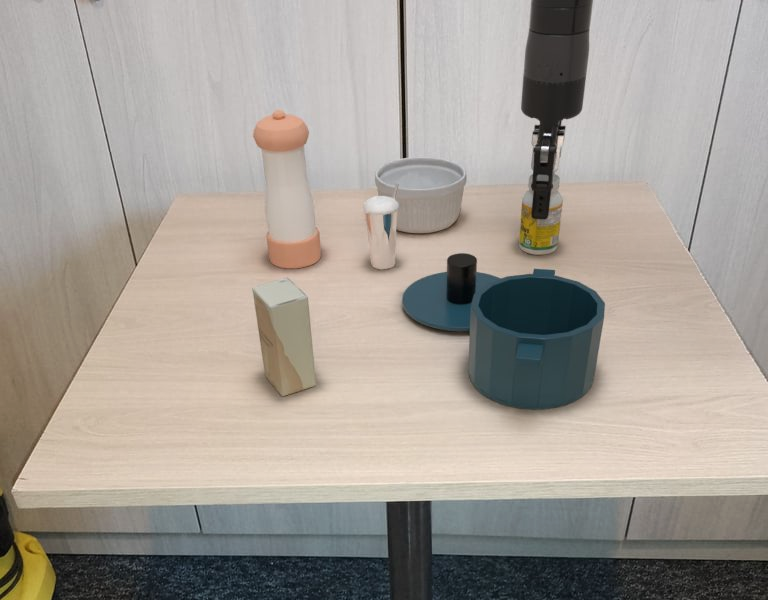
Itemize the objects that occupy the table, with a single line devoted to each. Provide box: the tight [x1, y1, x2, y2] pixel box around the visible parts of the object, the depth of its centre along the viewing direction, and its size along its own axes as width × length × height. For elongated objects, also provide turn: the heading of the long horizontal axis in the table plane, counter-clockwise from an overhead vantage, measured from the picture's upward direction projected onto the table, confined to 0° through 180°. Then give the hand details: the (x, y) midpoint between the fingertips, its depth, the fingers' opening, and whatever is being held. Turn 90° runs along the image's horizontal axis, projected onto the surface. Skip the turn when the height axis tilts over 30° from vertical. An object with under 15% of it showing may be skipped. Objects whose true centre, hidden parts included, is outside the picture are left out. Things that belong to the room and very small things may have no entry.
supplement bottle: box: [518, 173, 564, 256], centre depth 110 cm, size 5×5×10 cm
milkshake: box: [363, 184, 399, 270], centre depth 108 cm, size 4×5×10 cm
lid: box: [401, 252, 502, 332], centre depth 99 cm, size 15×15×6 cm
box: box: [252, 277, 317, 397], centre depth 87 cm, size 5×4×11 cm
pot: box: [467, 268, 606, 410], centre depth 87 cm, size 14×19×8 cm
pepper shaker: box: [252, 109, 322, 269], centre depth 107 cm, size 7×7×19 cm
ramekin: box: [374, 156, 467, 234], centre depth 119 cm, size 13×13×7 cm
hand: (541, 208), depth 109 cm, fingers closed on supplement bottle, 5 cm apart
